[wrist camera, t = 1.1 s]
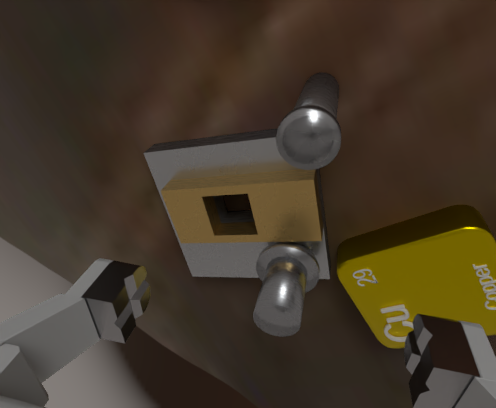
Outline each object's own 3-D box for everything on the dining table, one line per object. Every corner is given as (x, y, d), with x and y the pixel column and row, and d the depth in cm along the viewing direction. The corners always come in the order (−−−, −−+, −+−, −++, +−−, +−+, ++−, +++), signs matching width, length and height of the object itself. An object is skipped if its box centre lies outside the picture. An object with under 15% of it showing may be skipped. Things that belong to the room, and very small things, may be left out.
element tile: (514, 299, 38) (532, 335, 34) (381, 323, 45) (384, 355, 41) (473, 196, 33) (489, 224, 29) (331, 241, 40) (329, 269, 36)
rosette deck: (313, 124, 32) (298, 184, 23) (330, 265, 41) (325, 351, 32) (153, 144, 38) (87, 199, 29) (198, 264, 47) (159, 337, 37)
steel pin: (342, 63, 29) (338, 104, 19) (345, 109, 31) (343, 167, 21) (296, 72, 30) (270, 114, 21) (302, 115, 32) (281, 172, 23)
